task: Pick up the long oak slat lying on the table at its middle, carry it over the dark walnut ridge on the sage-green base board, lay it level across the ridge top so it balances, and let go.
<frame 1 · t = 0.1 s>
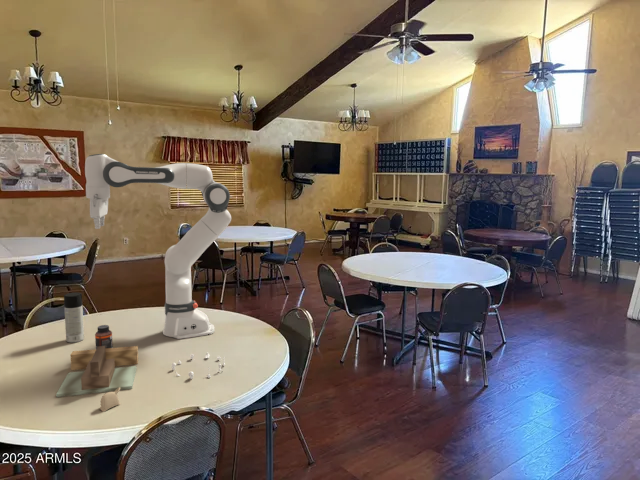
hand: (99, 227, 182), 48 cm above the table, tool pointing down, fingers open, 8 cm apart
spray can: (75, 340, 185), on the table
decorative ornament: (111, 406, 134), on the table
oak slat: (105, 365, 162), on the table
game piece set: (199, 369, 162), on the table
ridge stand: (99, 381, 149), on the table
supplement bottle: (104, 354, 172), on the table
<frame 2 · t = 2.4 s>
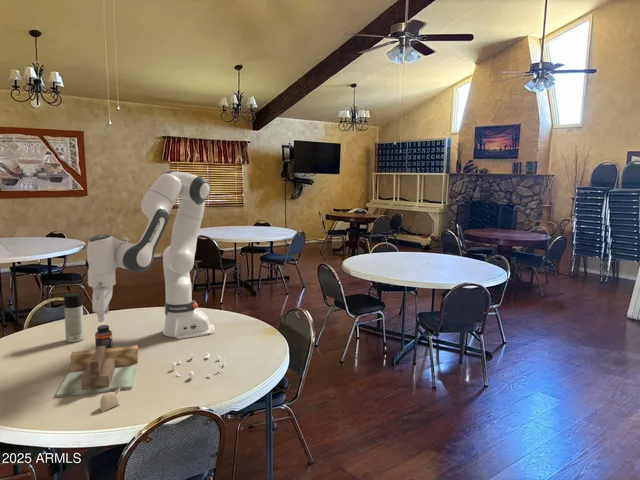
hand: (103, 317, 159), 18 cm above the table, tool pointing down, fingers open, 8 cm apart
nothing on the table moved.
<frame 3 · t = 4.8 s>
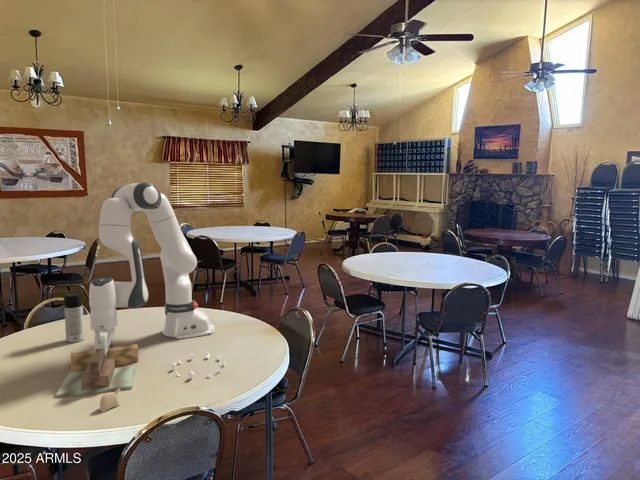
hand: (105, 358, 162), 3 cm above the table, tool pointing down, fingers closed on oak slat, 4 cm apart
oak slat: (105, 365, 162), on the table, touching gripper
everything else where it was.
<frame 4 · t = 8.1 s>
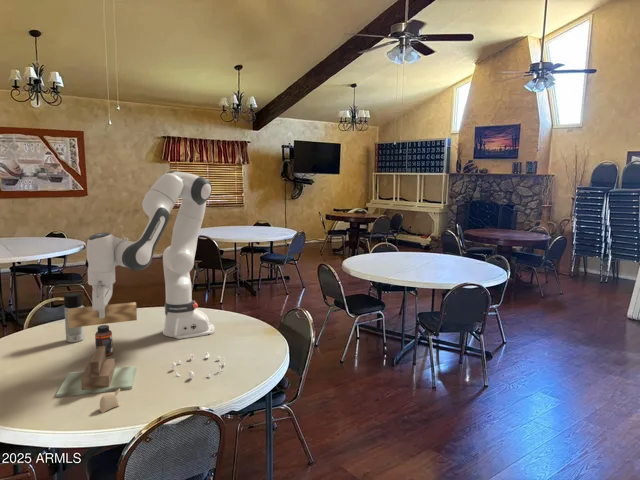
hand: (103, 315, 159), 19 cm above the table, tool pointing down, fingers closed on oak slat, 4 cm apart
oak slat: (103, 322, 160), point 16 cm above the table, touching gripper
everything else where it was.
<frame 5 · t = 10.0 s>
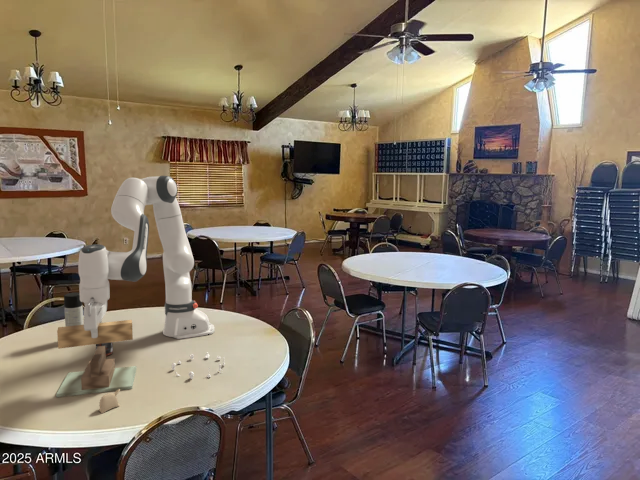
hand: (96, 334, 147), 17 cm above the table, tool pointing down, fingers closed on oak slat, 4 cm apart
oak slat: (96, 342, 147), point 14 cm above the table, touching gripper
everything else where it was.
when the fingers open (13 cm above the table, at t = 11.4 s): oak slat stays where it is, resting on ridge stand.
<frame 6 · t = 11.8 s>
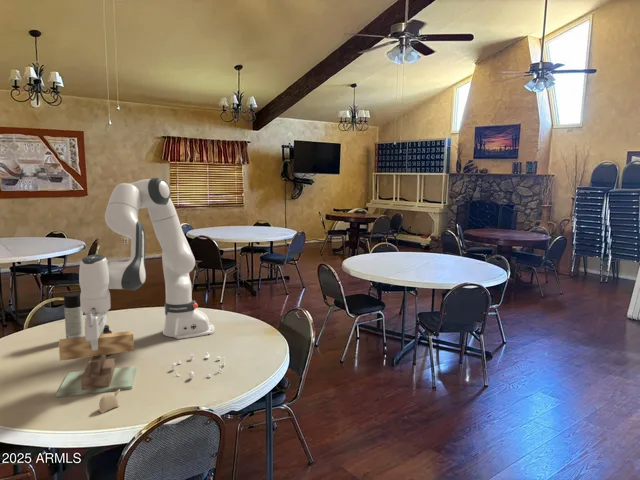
hand: (97, 344, 147), 13 cm above the table, tool pointing down, fingers open, 8 cm apart
oak slat: (98, 353, 147), point 10 cm above the table, touching ridge stand
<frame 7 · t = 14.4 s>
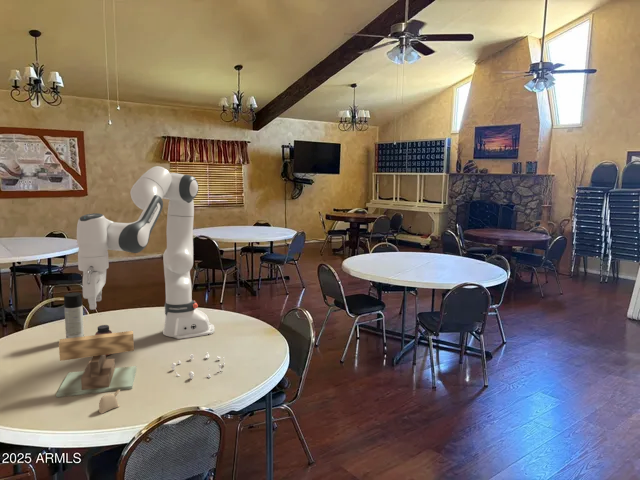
hand: (95, 304, 145), 27 cm above the table, tool pointing down, fingers open, 8 cm apart
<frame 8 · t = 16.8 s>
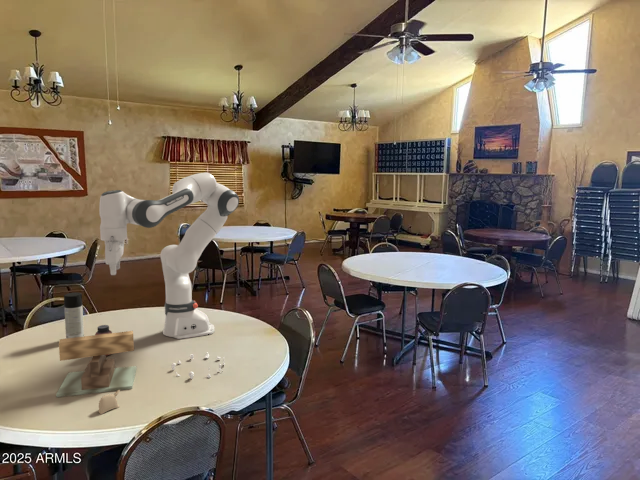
hand: (115, 271, 162), 34 cm above the table, tool pointing down, fingers open, 8 cm apart
at the end: oak slat inside the target area on the ridge stand (0.0 cm from its centre), point 10.0 cm above the ridge stand's base; oak slat tilted 0°; the gripper is holding nothing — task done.
